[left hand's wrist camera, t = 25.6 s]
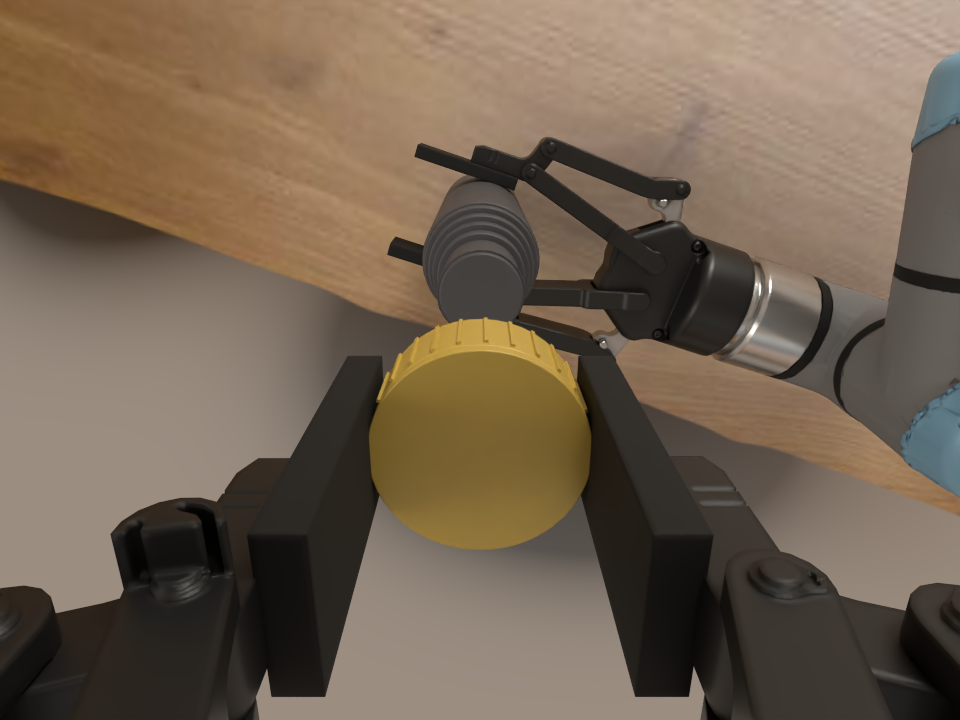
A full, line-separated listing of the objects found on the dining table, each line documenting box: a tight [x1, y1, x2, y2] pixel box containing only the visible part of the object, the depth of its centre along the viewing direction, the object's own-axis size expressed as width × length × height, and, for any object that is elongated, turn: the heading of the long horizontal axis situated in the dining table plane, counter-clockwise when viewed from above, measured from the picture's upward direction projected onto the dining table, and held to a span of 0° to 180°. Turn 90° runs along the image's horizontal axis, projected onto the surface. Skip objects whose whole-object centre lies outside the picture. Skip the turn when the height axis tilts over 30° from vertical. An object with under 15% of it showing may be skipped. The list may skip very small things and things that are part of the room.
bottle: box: [422, 175, 539, 323], centre depth 36 cm, size 6×6×25 cm
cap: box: [369, 317, 592, 550], centre depth 13 cm, size 5×5×2 cm
